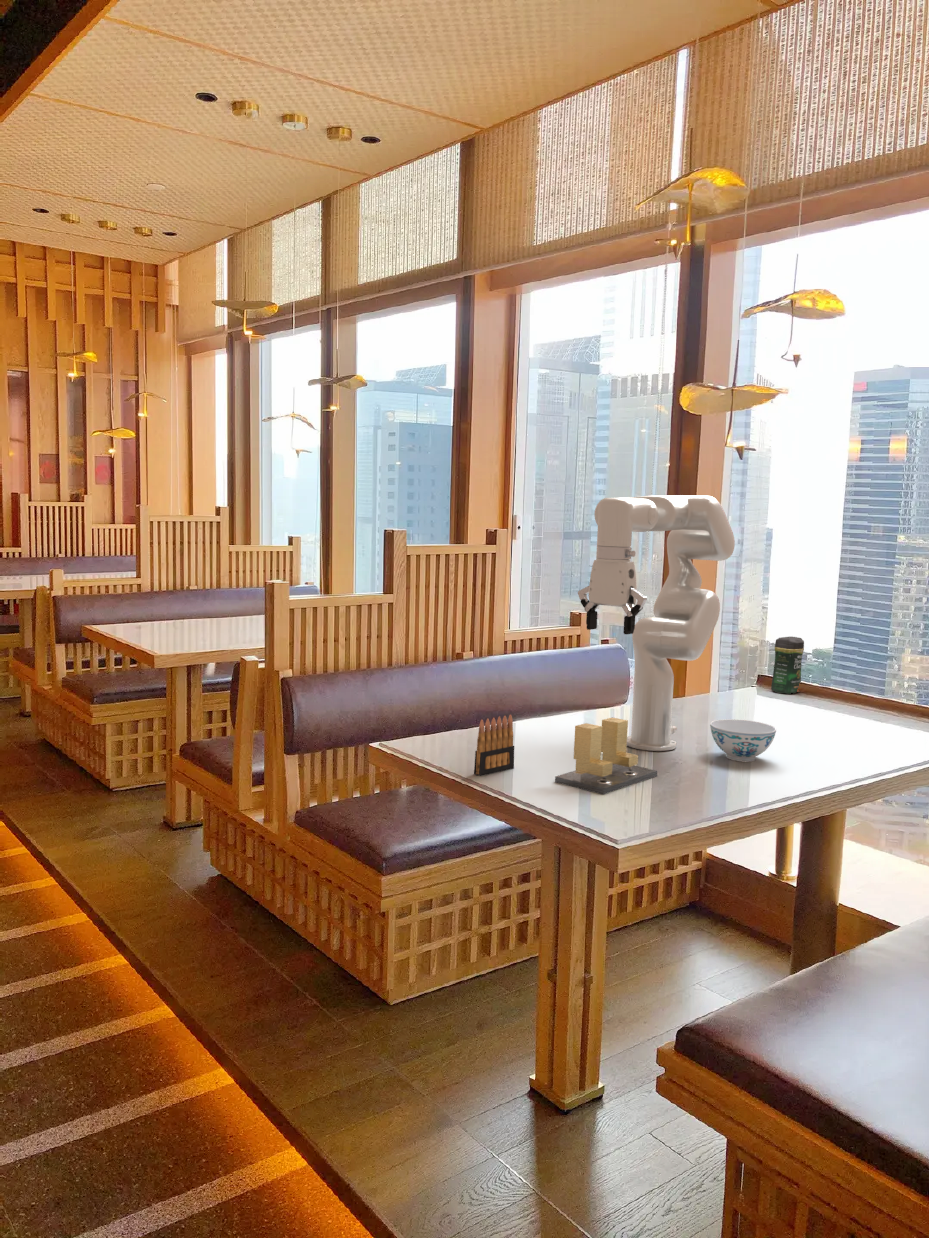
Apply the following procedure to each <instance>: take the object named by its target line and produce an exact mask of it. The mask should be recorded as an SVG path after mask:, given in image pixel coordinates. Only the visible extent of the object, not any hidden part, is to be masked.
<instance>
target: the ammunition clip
mask: <svg viewBox="0 0 929 1238" xmlns="http://www.w3.org/2000/svg"><path fill="white" fill-rule="evenodd" d="M513 723H514V722H513V716H512V714H509V716H508V718H507V716H506V715H504V716H503V717H502V718H501V716H500V715H499V716H498V717H497V720H496V719H495V717H492V719H491V722H490V719H489V717H487V718H486V720H485V722H484V720H483V719H480V722H479V726H478V735H477V740H476V741H477V743H476V750H475V754H474V766H473V769H474V770H473V775H474V776H478V777H483V776H487V775H492V774H495V773H499V772H500V773H501V772H505V771H509V770H514V769H515V745H514V728H513V727H514V725H513Z"/></svg>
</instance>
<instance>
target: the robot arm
mask: <svg viewBox="0 0 929 1238" xmlns="http://www.w3.org/2000/svg"><path fill="white" fill-rule="evenodd" d="M594 521H595V523H596V525H597V537H596V553H595V555H596V557H595V559H594V560H593V562H592V567H591V570H590V577H589V583H588V584H589V585H588V586H586V587H583V588H582V589H579V590H578V591H577V595H578V597H579V599H580V604H581V605H582V607H583V608H584V610H583V611H585V612H586V621H585V623H586V630H588V631H589V630H596V629H597V627H598V611H597V608H598V607H599V606H607V607H609V606H610V607H617V608H619V607H620V608H622V610H623V611H624V612H625V614H626V615H624V618H623V635H632V637H631V638H632V646H633V655H634V657H633V658H634V671H633V672H634V677H633V689H632V691H633V695H632V710H631V711H632V712H631V726H630V727H631V729H630V735H629V736H628V735H627V747H630V748H633V749H636V750H641V751H651V752H653V751H654V752H664V751H665V752H667V751H672V750H674V749H676V748H677V742H676V741H675V740H674V739H671V736H672V735H674V734H676V733H677V732H678V728H677V726H676V725H672V715H673V713H672V712H673V701H674V700H673V697H674V681H675V678H674V677H675V675H674V671H673V668H672V667H671V664H670V663H669V661H668V659H671V660H677V661H678V660H679V661H688V662H689V661H690V662H691V661H695V660H697V659H699V658H700V657H701V655H702V654H703V652H704V651H705V649H706V647H707V645H708V642H709V640H710V638H711V636H712V634H713V632H714V630H715V627H716V625H717V622H718V620H719V616H720V612H721V603H720V602H721V601H720V599H719V597H718V595H717V594H716V593H715V592H714V591H712V590H710V589H705V588H701V587H702V583H703V581H702V577H701V574H700V572H699V570H698V569H697V568H696V566H695V565H694V563H693V561H692V560H697V561H698V560H700V561H715V562H718V561H719V562H721V561H725V560H728V559H729V558H731V556H732V555H733V553H734V550H735V545H736V544H735V535H734V532H733V530H732V527H731V524H730V522H729V520H728V517H727V515H726V512H725V510H724V508H723V506H722V505H721V502H720V501H718V500H717V498H715V497H713V496H711V495H683V494H682V495H681V494H680V495H677V494H676V495H675V494H674V495H667V494H666V495H645V496H644V495H643V496H634V497H633V496H632V497H629V496H627V497H604V498H602V499H601V500H600V501H599V502H598V503H597V504H596V507H595V510H594ZM666 531H667V532H668V531H669V533H668V534H667V535H668V536H667V539H666V551H667V560H668V571H669V572H668V575H667V577H666V580H665V582H664V583H663V585H662V588H661V589H660V591H659V593H658V595H657V597H656V599H655V602H654V604H653V610H652V611H653V615H654V616H647V617H644V618H640V619H639V620H638V621H637V622H636V616H638V615H639V613H640V612H641V611H642V610H643V608H644V606H645V604H646V602H647V601H648V598H647V596H645V594H643V593H641V592H640V591H639V590H637V589H638V588H637V587H638V586H637V573H636V566H635V562H634V561H631V560H632V558H634V557H635V556H636V551H635V550H632V539H633V533H644V532H666ZM587 595H588V596H587Z"/></svg>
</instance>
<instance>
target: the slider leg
mask: <svg viewBox="0 0 929 1238" xmlns="http://www.w3.org/2000/svg"><path fill="white" fill-rule="evenodd" d="M628 725H629V720H627V719H623V718H617V717H608V718H604V719H602V720H601V726H602V740H601V753H602V759H601V760H604V761H608V762H613V764H617V765H621V766H626V767H629V771H632V766H634V765H635V766H638V764H639V762H638V761H639V754H634V753H629V752H627V747H628V746H627V737H628V730H629V729H628Z"/></svg>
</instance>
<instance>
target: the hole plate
mask: <svg viewBox="0 0 929 1238" xmlns="http://www.w3.org/2000/svg"><path fill="white" fill-rule="evenodd" d="M601 740H602V725H597V724H591V723H587V722H586V723H585V722H584V723H581V724H577V725H574V742H573V760H575V770H572V771H569V772H566V773H563V774H559V775H557V776H554V782H555V783H556V784H562V785H564V786H570V787H573V788H576V789H581V790H585V791H590V792H592V793H597V794H600V795H606V794H609V793H612V792H614V791H617V790H620V789H623V788H626V787H629V786H632V785H635V784H637V783H641V782H643V781H646V780H649V779H652V778H655V777H657V776H658V770H657V769H652V768H647V767H644V766H640V765H634V766H632V771H629V767H626V766H621V765H617V764H613V762H608V761H604V760H602V759H601V757H602V756H601V755H602V754H601V753H602V752H601Z"/></svg>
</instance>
